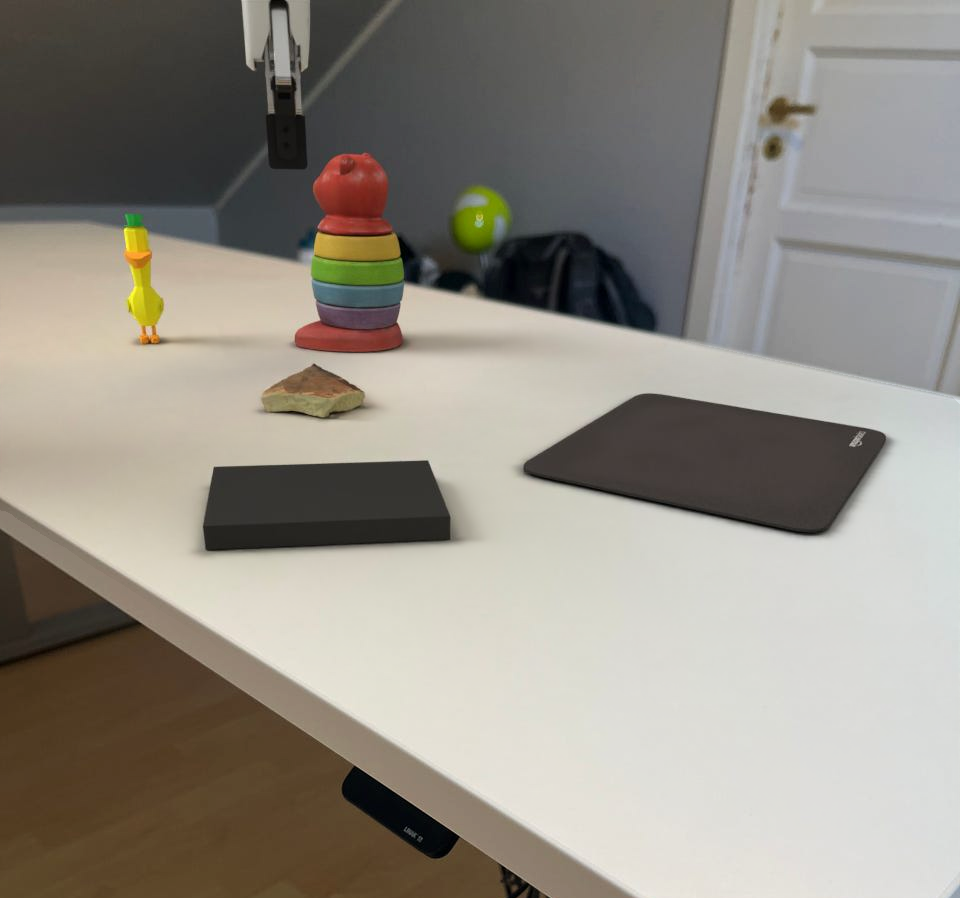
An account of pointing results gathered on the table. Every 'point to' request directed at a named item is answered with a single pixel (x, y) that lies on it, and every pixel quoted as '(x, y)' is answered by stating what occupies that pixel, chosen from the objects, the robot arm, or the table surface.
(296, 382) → the shard
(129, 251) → the toy figure
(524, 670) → the table surface
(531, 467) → the mouse pad
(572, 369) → the table surface
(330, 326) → the stacking bear
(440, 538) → the black rectangular block
